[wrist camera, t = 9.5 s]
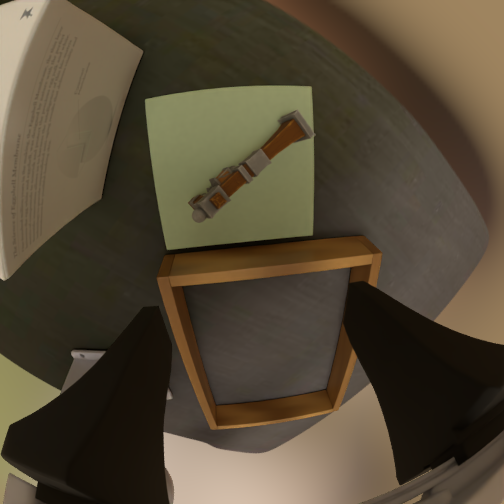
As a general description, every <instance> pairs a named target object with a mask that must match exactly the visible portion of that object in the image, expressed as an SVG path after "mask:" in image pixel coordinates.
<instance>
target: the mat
mask: <svg viewBox="0 0 504 504" xmlns="http://www.w3.org/2000/svg"><path fill="white" fill-rule="evenodd" d="M145 108H146V119H147V129H148V138H149V146H150V154H151V162H152V169H153V176H154V183H155V189H156V195H157V201H158V207H159V212H160V218H161V223H162V228H163V233H164V238H165V243H166V248H167V250H172V249H181V248H190V247H200V246H209V245H219V244H229V243H239V242H249V241H259V240H269V239H279V238H290V237H300V236H311V235H313V215H314V136H313V137H311V139H307V140H303V141H300V142H296V143H292V144H291V145H289V146H288V147H287V148H285V149H284V150H282V151H281V152H280V153H278V154H277V155H276V156H275V157H274V158H272V159H271V160H270V161H271V162H272V163H271V164H269V165H268V166H266V167H265V168H264V169H263V170H262V171H261V172H260V173H259V175H258V176H257V177H252V178H253V181H251V182H250V183H249V184H244V185H243V186H242V187H240V188H239V189H238V190H237V191H236V192H235V193H234V194H233V195H232V196H230V197H229V198H230V199H231V201H230V202H228V203H227V204H226V205H225V206H223V207H222V208H221V209H220V210H219V211H218V212H217V213H216V214H215V216H214V217H213V218H212V219H208V218H206V219H205V221H203V222H201V223H197V222H195V221H194V220H193V218H192V213H193V211H194V209H193V208H192V207H191V206H190V205H189V204H188V202H189V201H190V200H191V199H192V198H193V197H195V196H196V195H199V194H200V195H202V194H203V193H206V194H207V193H208V192H207V189H206V188H210V186H211V183H210V181H209V179H211V178H216V177H217V176H218V175H219V174H220V173H221V171H222V169H223V168H226V167H229V168H230V167H231V166H239V165H238V163H240V162H242V161H243V160H244V159H246V158H247V157H248V156H249V155H250V154H251V153H252V152H253V151H255V150H258V149H260V148H261V147H262V146H263V145H264V144H265V143H266V142H267V141H268V140H269V139H270V137H271V136H272V135H273V134H274V133H275V132H276V131H277V130H278V128H279V127H280V126H281V125H280V123H279V122H278V121H277V120H279V119H280V118H281V117H282V116H284V115H286V114H288V113H291V112H293V111H295V110H297V109H298V111H299V112H300V113H301V115H302V116H303V118H304V119H305V120H306V122H307V123H308V125H309V126H310V127H311V129H312V130H313V104H312V87H311V86H242V87H227V88H216V89H206V90H198V91H190V92H183V93H176V94H170V95H165V96H159V97H154V98H149V99H145ZM313 132H314V131H313ZM203 196H204V195H203Z"/></svg>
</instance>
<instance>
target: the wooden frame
mask: <svg viewBox="0 0 504 504" xmlns="http://www.w3.org/2000/svg"><path fill="white" fill-rule="evenodd" d="M381 259H382V252H381V251H380V250H379V249H378V248H377V247H376V246H375V245H374V244H372V243H371V242H370V241H369V240H368V239H367V238H366V237H365V236H350V237H340V238H329V239H319V240H309V241H298V242H288V243H278V244H268V245H258V246H248V247H238V248H228V249H219V250H209V251H199V252H190V253H180V254H171V255H165V256H164V258H163V261H162V264H161V267H160V270H159V272H158V275H157V281H158V284H159V288H160V292H161V295H162V299H163V302H164V305H165V309H166V312H167V315H168V318H169V321H170V325H171V328H172V331H173V334H174V337H175V340H176V343H177V346H178V348H179V351H180V354H181V357H182V360H183V362H184V365H185V368H186V370H187V373H188V376H189V378H190V381H191V383H192V386H193V388H194V391H195V393H196V396H197V398H198V401H199V403H200V405H201V408H202V410H203V412H204V415H205V417H206V419H207V422H208V424H209V426H210V428H211V429H228V428H240V427H250V426H259V425H267V424H274V423H280V422H286V421H292V420H297V419H303V418H308V417H312V416H317V415H321V414H326V413H330V412H333V411H337V410H338V409H339V407H340V404H341V402H342V399H343V397H344V394H345V391H346V389H347V386H348V383H349V380H350V377H351V374H352V371H353V369H354V365H355V362H356V359H357V355H356V353H355V352H354V350H353V348H352V346H351V344H350V341H349V339H348V336H347V333H346V331H345V328H344V325H343V321H342V326H341V331H340V336H339V341H338V345H337V350H336V354H335V358H334V362H333V367H332V371H331V375H330V379H329V382H328V386H327V390H323V391H318V392H313V393H308V394H303V395H298V396H292V397H286V398H280V399H273V400H266V401H259V402H250V403H241V404H230V405H216V404H215V401H214V398H213V395H212V392H211V389H210V386H209V383H208V380H207V376H206V373H205V370H204V367H203V363H202V360H201V356H200V353H199V349H198V346H197V342H196V339H195V335H194V331H193V328H192V324H191V320H190V316H189V312H188V308H187V304H186V300H185V296H184V292H183V288H182V286H188V285H198V284H209V283H219V282H229V281H239V280H248V279H257V278H266V277H275V276H284V275H292V274H300V273H308V272H316V271H324V270H332V269H339V268H347V267H351V274H350V281H349V283H352V282H358V281H365V282H367V283H369V284H370V285H372V286H374V287H375V288H376V284H377V279H378V274H379V269H380V264H381ZM348 288H349V287H348ZM347 295H348V293H347ZM346 301H347V299H346ZM345 307H346V305H345ZM344 313H345V310H344ZM343 318H344V316H343Z"/></svg>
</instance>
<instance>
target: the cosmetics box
mask: <svg viewBox="0 0 504 504" xmlns="http://www.w3.org/2000/svg"><path fill="white" fill-rule="evenodd" d="M142 54H143V51H142V50H141V49H140V48H138V47H137V46H135V45H133V44H132V43H131V42H129V41H128V40H127V39H125V38H124V37H122V36H121V35H119V34H118V33H117V32H115V31H114V30H112V29H111V28H109V27H108V26H106V25H105V24H103V23H102V22H100V21H98V20H97V19H95V18H94V17H92V16H91V15H89V14H87V13H86V12H84V11H82V10H81V9H79V8H77V7H76V6H74V5H73V4H71V3H70V2H68V1H67V0H14V1H11V2H8V3H5V4H2V5H0V279H2V280H6V279H8V278H10V277H11V276H12V274H13V273H14V272H15V271H16V270H17V269H18V268H19V267H20V266H21V265H22V264H23V263H24V262H25V261H26V260H27V259H28V258H29V257H30V256H31V255H32V254H33V253H34V252H35V251H36V250H37V249H38V248H39V247H40V246H41V245H42V244H44V243H45V242H46V241H47V240H48V239H49V238H50V237H51V236H53V235H54V234H55V233H56V232H57V231H58V230H60V229H61V228H62V227H63V226H64V225H65V224H67V223H68V222H70V221H71V220H72V219H73V218H75V217H76V216H77V215H79V214H80V213H81V212H82V211H84V210H85V209H87V208H88V207H89V206H91V205H92V204H94V203H95V202H97V201H99V200H100V199H101V198H102V191H103V186H104V181H105V177H106V171H107V167H108V162H109V158H110V154H111V149H112V145H113V141H114V137H115V134H116V130H117V126H118V123H119V119H120V116H121V113H122V110H123V106H124V103H125V100H126V97H127V94H128V91H129V88H130V85H131V82H132V79H133V77H134V74H135V71H136V69H137V66H138V64H139V61H140V59H141V57H142Z"/></svg>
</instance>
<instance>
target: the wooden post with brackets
mask: <svg viewBox="0 0 504 504" xmlns="http://www.w3.org/2000/svg"><path fill="white" fill-rule="evenodd" d="M277 121H278V122H279V123H280V125H281V126H280V127H279V128H278V130H277V131H276V132H275V133H274V134H273V135H272V136H271V137H270V139H269V140H268V141H267V142H266V143H265V144H264V145H263V146H262V147H261V148H260V149H258V150H255V151H253V152H252V153H251V154H250V155H249V156H248V157H247V158H246V159H244V160H243V161H242V162H240V163H238V165H239V166H231V167H230V168H229V167H226V168H223V169H222V171H221V173H220V174H219V175H218V176H217V177H216V178H211V179H209V181H210V183H211V186H210V188H206V189H207V192H208V193H207V194H206V193H203V194H202V195H200V194H199V195H196V196H195V197H193V198H192V199H191V200H190V201H189V202H188V204H189V205H190V206H191V207H192V208H193V209H194V211H193V213H192V218H193V220H194V221H195V222H197V223H201V222H203V221H205V219H206V218H208V219H212V218H213V217H214V216H215V214H216V213H217V212H218V211H219V210H220V209H221V208H222V207H223V206H225V205H226V204H227V203H228V202H230V201H231V199H230V198H229V197H230V196H232V195H233V194H234V193H235V192H236V191H237V190H238V189H239V188H240V187H242V186H243V185H244V184H249V183H250V182H251V181H253V178H252V177H257V176H258V175H259V173H260V172H261V171H262V170H263V169H264V168H265V167H266V166H268V165H269V164H271V163H272V162H271V161H270V160H271V159H272V158H274V157H275V156H276V155H277V154H278V153H280V152H281V151H282V150H284V149H285V148H287V147H288V146H289V145H291V144H292V143H296V142H300V141H303V140H307V139H311V137H313V136H316V135H315V133H314V132H313V130H312V129H311V127H310V126H309V125H308V123H307V122H306V120H305V119H304V118H303V116H302V115H301V113H300V112H299V111H298V109H297V110H295V111H293V112H291V113H288V114H286V115H284V116H282V117H281V118H280V119H279V120H277ZM203 195H204V196H203Z"/></svg>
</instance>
